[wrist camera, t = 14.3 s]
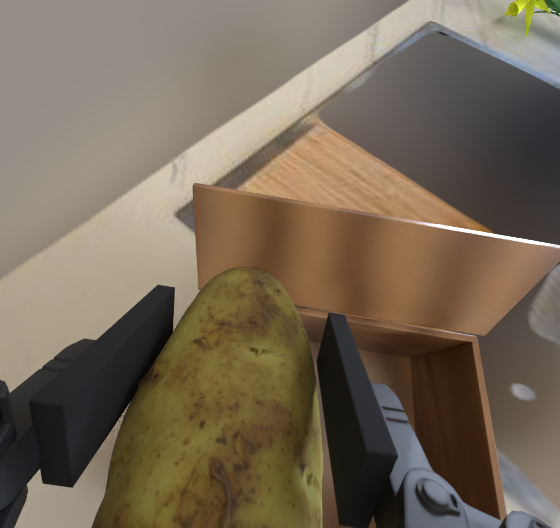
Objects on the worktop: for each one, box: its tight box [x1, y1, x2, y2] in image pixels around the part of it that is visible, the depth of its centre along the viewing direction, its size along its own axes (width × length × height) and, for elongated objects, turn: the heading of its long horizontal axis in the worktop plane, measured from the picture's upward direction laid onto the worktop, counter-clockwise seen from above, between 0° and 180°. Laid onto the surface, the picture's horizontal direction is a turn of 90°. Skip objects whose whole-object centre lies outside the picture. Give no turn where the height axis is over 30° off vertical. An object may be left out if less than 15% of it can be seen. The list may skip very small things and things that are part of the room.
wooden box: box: [295, 307, 507, 528], centre depth 18 cm, size 21×17×17 cm
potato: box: [92, 267, 324, 528], centre depth 11 cm, size 8×13×8 cm, turn 156°
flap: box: [193, 183, 560, 336], centre depth 18 cm, size 21×8×1 cm
